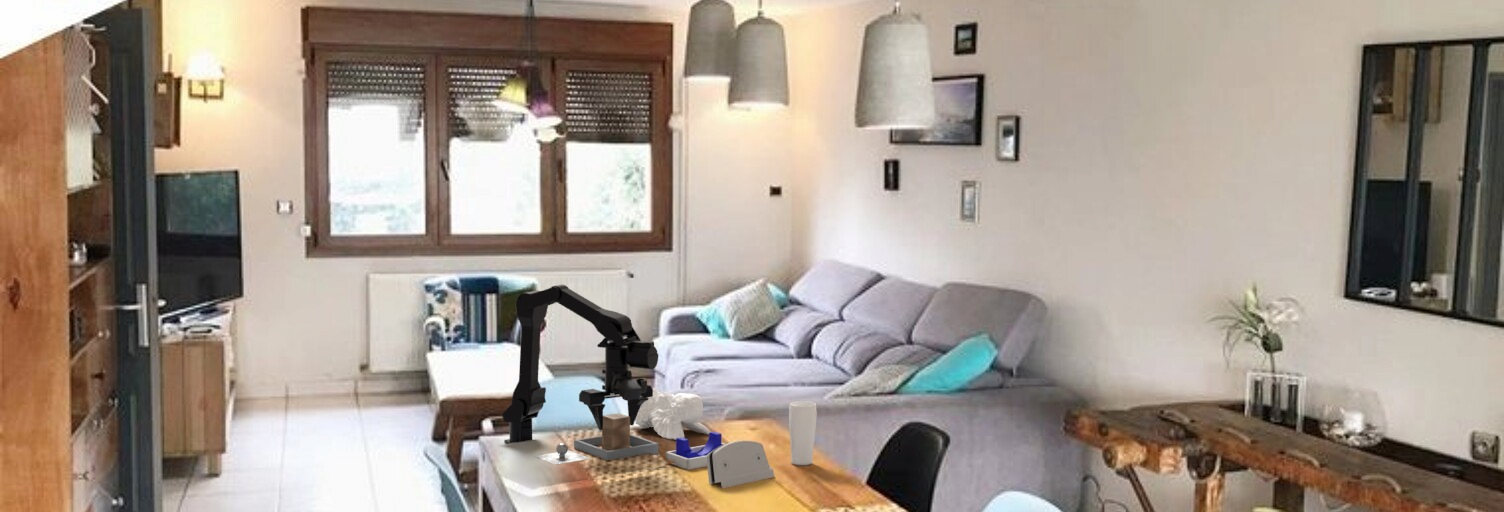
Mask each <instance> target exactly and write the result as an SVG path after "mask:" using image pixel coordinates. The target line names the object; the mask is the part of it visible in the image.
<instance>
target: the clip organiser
mask: <svg viewBox="0 0 1504 512" xmlns="http://www.w3.org/2000/svg"><path fill="white" fill-rule="evenodd" d="M724 444H725V443H723V442H721V445H724ZM705 445H706V444H704V445H699V446H698V445H697V446H692V447H691V446H690V449H691V450H692V451H694V452H698V451H700V450H701V449H702V448H703V447H704V446H705ZM665 459H666V460H669V461H672V463H670V464H671V465H672V466H673V465H674V466H676V467H679V468H682V469H684V470H687V471H688V470H689V471H690V470H693V469H700V468H704V467H707V455H706V456H701V457H695V458H689V459H688V458H685V457H682V456H679V455H676V449H675V450H669V451H665Z"/></svg>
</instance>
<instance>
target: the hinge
mask: <svg viewBox="0 0 1504 512" xmlns="http://www.w3.org/2000/svg"><path fill="white" fill-rule="evenodd" d="M706 467H707V476H708V484H709V485H713V484H717V483H721V484H720V485H721V488H722V489H725V488H726V489H727V488H730V487H734V486H739V485H743V484H744V485H745V484H748V483H753V482H757V481H762V480H767V479H770V478H771V479H772V478H775V476H776V475H775V473H774V469H773V468H772V467H771V465H770V463H769V462H768V458H767V454H766V451H765V448H764V445H763V444H762V443H761V442H756V441H751V440H736V441H731V442H727V443H724V445H721V446H719V447H718V448H716V449H714V450H713V451H711V452H710V453H709V454H708V455H707V466H706Z"/></svg>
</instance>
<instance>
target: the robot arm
mask: <svg viewBox="0 0 1504 512" xmlns="http://www.w3.org/2000/svg"><path fill="white" fill-rule="evenodd" d="M556 303H558V304H559V305H560V306H563V307H564V308H565V309H567V310H569V311H571V312H573V313H574V314H576V315H577V316H579V317H581V318H582V319H584V320H585V321H587V322H589V323H590V324H591V325H593V327H594V328H595V329H596V331H597V332H598V333H600V335H601V336H603V339H602V341H600V342H599V343H598V344H597V347H598V348H602V349H603V348H604V349H605V355H604V357H605V358H604V360H605V361H604V368H602V370H601V371H602V372H601V373H602V374H604V375H605V376H604V377H605V378H604V384H603V385H602V387H601V390H600V389H599V390H598V389H595V388H590V389H589V388H587V389H582V390H581V391H580V392H579V395H578V402H580V403H583V405H585V406H587V408H588V410H589V411H590V412H591V414H592V417H593V419H594V421H595V424H596V426H597V429H598V430H599V431H602V429H603V415H604V409H605V407H606V404H604V402H605V401H606V400H607V399H613V398H620V397H621V398H622V400H624V401H627V412H628V413H627V414H628V415H627V416H629V417H630V426H634V424H635V423H636V421H635V419H636V416H637V414H638V411H639V409H640V407H641V405H642V404H643V403H644V402H645V401H647V400H648V399H649V398H647V397H653V387H652V385H650V384H648V379H647V378H646V377H640V378H636V379H635V378H634V379H633V373H632V370H630V369H629V367H630V368H633V369H635V368H636V369H644V370H654V369H655V368H656V367H657V365H658V362H659V353H658V350H657V348H656V347H655V342H654V341H650V340H649V341H642V340H641V338H640V337H639V334H637V332H636V329H634V327H633V323H632V320H631V318H630V317H629V316H628V315H626V314H623V313H620V312H617V311H614V310H613V311H612V310H610V309H609V310H608V309H605V308H602V307H601V306H599V305H598V304H595V302H593V301H591V300H589V299H587V298H586V297H584V296H582V295H581V294H579V293H577V292H575V290H572V289H570V287H568V286H567V285H565V284H558V285H557V284H556V285H553V286H550V287H548V288H546V289H544V290H534V291H527V292H523V293H520V294H519V295H518V296H517V297H516V300H515V311H516V318H517V320H518V321H519V324H520V327H521V330H520V331H521V332H520V334H521V335H520V352H519V371H518V372H519V374H518V382H517V384H516V386H515V388H514V390H513V391H512V397H511V402H510V406H508V407H507V408H506V410H504V411H503V413H502V417H503V421H504V423H509V438H508V439H504V440H503V441H504V443H506V444H514V443H515V444H516V443H521V442H527V441H534V439H533V419H535V418H538V417H539V416H538V415H539V413H540V411H541V409H543V407H544V404H545V403H547V401H546V391H547V389H546V387H542V386H541V385H540V382H539V369H540V367H539V365H540V347H541V346H540V345H541V344H540V343H541V328H542V324H543V323H544V320H545V318H546V316H547V313H548V308H549V306H551V305H553V304H556ZM605 399H606V400H605Z"/></svg>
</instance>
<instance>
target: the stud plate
mask: <svg viewBox="0 0 1504 512" xmlns="http://www.w3.org/2000/svg"><path fill="white" fill-rule="evenodd" d="M555 450H556V451H555V452H550V453H542V454H539V455H534V456H533V457H534V458H538V459H540V460H542V461H545V462H547V463H550V464H552V465H562V464H567V463H574V462H579V461H584V460H585V461H586V460H591V458H590V457H588V456H585V455H582V454H580V453H577V452H575V451H572V450H569V447H568V445H567V444H565V443H563V442H562V443H559V444H557V445H556V448H555Z"/></svg>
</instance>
